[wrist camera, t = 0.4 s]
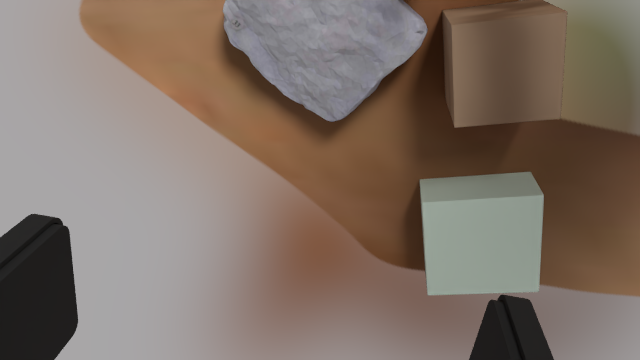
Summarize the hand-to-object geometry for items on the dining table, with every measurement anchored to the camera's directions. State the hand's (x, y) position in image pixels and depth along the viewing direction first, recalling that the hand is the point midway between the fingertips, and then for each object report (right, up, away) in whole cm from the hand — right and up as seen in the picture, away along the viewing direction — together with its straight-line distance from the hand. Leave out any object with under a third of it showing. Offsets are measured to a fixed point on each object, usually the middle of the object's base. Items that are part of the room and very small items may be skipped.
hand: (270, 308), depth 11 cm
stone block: (+1, +14, +24) cm, 28 cm away
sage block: (+13, 0, +29) cm, 32 cm away
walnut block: (+12, +11, +23) cm, 29 cm away
